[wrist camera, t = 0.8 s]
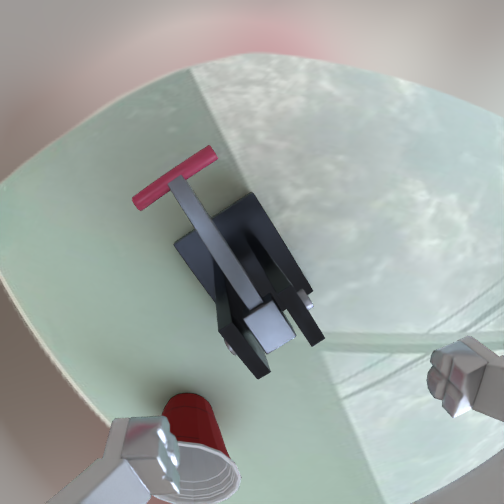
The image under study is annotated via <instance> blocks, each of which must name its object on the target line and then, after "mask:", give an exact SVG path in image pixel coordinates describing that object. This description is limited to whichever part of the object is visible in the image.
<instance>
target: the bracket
mask: <svg viewBox="0 0 504 504" xmlns="http://www.w3.org/2000/svg"><path fill="white" fill-rule="evenodd" d="M211 219H212V221H213V222H214V224H215V225H216V227H217V228H218V230H219V232H220V233H221V235H222V236H223V238H224V239H225V241H226V242H227V244H228V245H229V247H230V248H231V250H232V252H233V253H234V255H235V256H236V258H237V259H238V261H239V262H240V264H241V265H242V267H243V268H244V270H245V271H246V273H247V274H248V276H249V278H250V279H251V281H252V282H253V284H254V285H255V287H256V288H257V290H258V291H259V293H260V294H261V296H262V297H264V296H265V295H267V294H269V293H271V295H272V296H273V298H274V299H275V301H276V302H277V304H278V305H279V307H280V308H281V310H282V311H284V310H285V309H287V310H288V312H289V313H290V315H291V316H292V318H293V319H294V321H295V322H296V324H297V325H298V327H299V328H300V330H301V331H302V333H303V334H304V336H305V337H306V339H307V340H308V342H309V343H310V345H311V346H312V347H313V346H314V345H316V344H317V343H319V342H320V341H322V340H324V339H325V337H324V335H323V334H322V332H321V330H320V329H319V327H318V326H317V324H316V322H315V321H314V319H313V318H312V316H311V314H310V313H309V311H308V310H310V309H311V308H313V307H314V306H313V304H312V302H311V300H310V299H309V297H308V294H310V293H311V292H313V290H312V288H311V286H310V284H309V283H308V281H307V279H306V278H305V276H304V274H303V273H302V271H301V269H300V268H299V266H298V265H297V263H296V261H295V260H294V258H293V256H292V255H291V253H290V251H289V250H288V248H287V246H286V245H285V243H284V242H283V240H282V238H281V237H280V235H279V233H278V232H277V230H276V228H275V227H274V225H273V224H272V222H271V220H270V219H269V217H268V216H267V214H266V212H265V211H264V209H263V208H262V206H261V204H260V203H259V201H258V200H257V198H256V196H255V195H254V193H253V192H250V193H249V194H247V195H245V196H244V197H242V198H241V199H239V200H238V201H236V202H235V203H233V204H231V205H230V206H228V207H227V208H225V209H224V210H222V211H221V212H219V213H218V214H216V215H215V216H213V217H212V218H211ZM174 246H175V248H176V249H177V251H178V252H179V253H180V255H181V256H182V258H183V259H184V261H185V262H186V263H187V265H188V266H189V268H190V269H191V270H192V272H193V273H194V274H195V276H196V277H197V279H198V280H199V281H200V283H201V284H202V285H203V287H204V288H205V290H206V291H207V292H208V294H209V295H210V296H211V298H212V299H213V300H214V302H215V303H216V310H217V322H218V332H219V333H220V334H221V335H222V337H223V338H224V341H225V344H226V346H227V347H228V349H229V350H230V352H231V353H232V354H233V355H238V357H239V358H240V359H241V360H242V361H243V363H244V364H245V365H246V366H247V367H248V369H249V370H250V371H251V372H252V373H253V375H254V376H255V377H256V378H257V379H260V378H262V377H263V376H265V375H267V374H268V373H270V372H271V371H270V368H269V365H268V362H267V359H266V356H265V353H264V350H263V348H262V347H261V346H260V344H259V343H258V341H257V340H256V338H255V337H254V336H253V334H252V333H251V331H250V330H249V328H248V327H247V325H246V324H245V323H244V321H243V309H245V308H247V307H246V305H245V304H244V302H243V301H242V299H241V298H240V296H239V295H238V293H237V292H236V290H235V289H234V287H233V286H232V284H231V283H230V281H229V280H228V278H227V277H226V275H225V274H224V272H223V271H222V269H221V268H220V266H219V265H218V263H217V262H216V260H215V259H214V257H213V256H212V254H211V253H210V251H209V249H208V248H207V246H206V245H205V243H204V242H203V240H202V239H201V237H200V236H199V234H198V232H197V231H196V229H193V230H192V231H190V232H189V233H188V234H186V235H185V236H183V237H182V238H180V239H179V240H177V241H176V242H175V243H174Z"/></svg>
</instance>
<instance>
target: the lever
mask: <svg viewBox="0 0 504 504" xmlns="http://www.w3.org/2000/svg"><path fill="white" fill-rule="evenodd" d="M217 159H218V157H217V155H216V153H215V152H214V150H213V149H212V147H211V146H210V145H208V146H207V147H205V148H203V149H202V150H200V151H199V152H197V153H196V154H194V155H193V156H191V157H189V158H188V159H186V160H185V161H183V162H182V163H180V164H179V165H177V166H176V167H175V168H173V169H172V170H170V171H169V172H167V173H166V174H164V175H163V176H161V177H160V178H159V179H157V180H156V181H154V182H153V183H151V184H150V185H149V186H147V187H146V188H144V189H143V190H142V191H140V192H139V193H138V194H136V195H135V196H133V197H132V201H133V203H134V205H135V206H136V207H137V209H138V210H140V211H142V210H143V209H145V208H146V207H148V206H149V205H150V204H152V203H153V202H155V201H156V200H157V199H159V198H160V197H162V196H163V195H165V194H166V193H167V192H169V191H170V190H171V192H172V193H173V195H174V196H175V198H176V199H177V201H178V203H179V204H180V206H181V207H182V209H183V211H184V212H185V214H186V215H187V217H188V218H189V220H190V222H191V223H192V225H193V226H194V228H195V229H196V231H197V232H198V234H199V236H200V237H201V239H202V240H203V242H204V243H205V245H206V246H207V248H208V249H209V251H210V253H211V254H212V256H213V257H214V259H215V260H216V262H217V263H218V265H219V266H220V268H221V269H222V271H223V272H224V274H225V275H226V277H227V278H228V280H229V281H230V283H231V284H232V286H233V287H234V289H235V290H236V292H237V293H238V295H239V296H240V298H241V299H242V301H243V302H244V304H245V305H246V307H247V308H245V309H243V321H244V323H245V324H246V325H247V327H248V328H249V330H250V331H251V333H252V334H253V336H254V337H255V338H256V340H257V341H258V343H259V344H260V346H261V347H262V348H263V350H264V351H265V353H266V354H269V353H270V352H272V351H274V350H275V349H277V348H279V347H280V346H282V345H283V344H285V343H287V342H288V341H290V340H292V339H293V338H295V337H296V333H295V331H294V329H293V327H292V325H291V324H290V322H289V321H288V319H287V317H286V316H285V314H284V313H283V311H282V310H281V308H280V307H279V305H278V304H277V302H276V301H275V299H274V298H273V296H272V295H271V293H269V294H267V295H265V296H264V297H262V296H261V294H260V293H259V291H258V290H257V288H256V287H255V285H254V284H253V282H252V281H251V279H250V278H249V276H248V274H247V273H246V271H245V270H244V268H243V267H242V265H241V264H240V262H239V261H238V259H237V258H236V256H235V255H234V253H233V252H232V250H231V248H230V247H229V245H228V244H227V242H226V241H225V239H224V238H223V236H222V235H221V233H220V232H219V230H218V228H217V227H216V225H215V224H214V222H213V221H212V219H211V218H210V216H209V215H208V213H207V211H206V210H205V208H204V207H203V205H202V204H201V202H200V201H199V199H198V197H197V196H196V194H195V193H194V191H193V190H192V188H191V186H190V185H189V183H188V182H187V179H188V178H190V177H191V176H193V175H194V174H196V173H197V172H199V171H200V170H202V169H203V168H205V167H206V166H208V165H209V164H211V163H213V162H214V161H216V160H217Z"/></svg>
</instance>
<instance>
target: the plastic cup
mask: <svg viewBox="0 0 504 504" xmlns="http://www.w3.org/2000/svg"><path fill="white" fill-rule="evenodd" d="M162 416H165V417H167V420H168V422H169V424H170V433H172V434H174V435H175V437H176V440H177V443H178V446H179V452H180V465H179V466H178V467H177V468H176V469H177V471H178V473H179V475H180V494H167V495H153V496H155V497H156V498H158V499H161V500H164V501H167V502H169V503H172V504H216V503H218V502H221V501H223V500H226V499H228V498H229V497H231V496H232V495H233V494H234V493H235V492H236V491H237V490H238V489H239V485H240V482H241V478H242V477H241V475H240V473H239V470H238V468H237V466H236V464H235V462H234V461H232V460H231V458H230V457H229V454H228V452H227V450H226V447H225V444H224V441H223V438H222V435H221V432H220V429H219V426H218V424H217V421H216V419H215V416H214V413H213V410H212V408H211V405H210V404H209V402H208V401H207V400H206V399H204V398H203V397H201V396H199V395H197V394H191V393H183V394H177V395H176V396H174V397H172V398H171V399H170V400H169V402H168V403H167V405H166V406H165V408H164V411H163V413H162Z"/></svg>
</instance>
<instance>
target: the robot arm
mask: <svg viewBox="0 0 504 504" xmlns="http://www.w3.org/2000/svg"><path fill="white" fill-rule="evenodd" d="M430 362H431V364H432V365H433V366H432V367H431V369H430V370H429V372H428V375H427V385H428V389H429V391H430V393H431V394H432V396H433V397H434V398H436V399H439V400H442V407H443V408H444V409H445V410H446V411H447V412H448V413H449V414H450V415H451V416H452V418H454V417H456V416H458V415H460V414H462V413H464V412H465V411H467V410H469V409H471V408H472V409H473V410H475V411H478V412H480V413H483V414H485V415H488V416H490V417H493V418H495V419H498V420H500V421H503V422H504V356H503V355H502V356H500V357H499V356H498V355H496V354H495V353H494V352H492V351H491V350H490V349H488V348H487V347H486V346H484V345H483V344H482V343H480V342H479V341H478V340H476V339H475V338H473V337H472V336H466V337H464V338H462V339H459V340H457V341H456V342H453V343H451V344H449V345H446V346H444V347H442V348H439V349H437V350H434V351H433V353H432V355H431V359H430ZM179 465H180V452H179V446H178V443H177V440H176V437H175V435H174V434H172V433H170V424H169V422H168V420H167V417H165V416H150V417H131V418H115V419H114V420H113V421H112V424H111V428H110V431H109V435H108V439H107V442H106V446H105V450H104V454H103V457H102V458H101V459H100V458H98V459H97V460H95V461H94V462H93V463H92V464H91V465H90V466H88V467H87V468H86V469H85V470H84V471H83V472H82V473H80V474H79V475H78V476H77V477H76V478H75V479H73V480H72V481H71V482H70V483H69V484H68V485H66V486H65V487H64V488H63V489H62V490H60V491H59V492H58V493H57V494H56V495H54V496H53V497H52V498H51V499H50V500H48V501H47V502H46V504H146V503H147V502H148V501H149V499H150V498H151V496H150V495H167V494H180V475H179V473H178V471H177V469H176V468H177V467H178V466H179ZM411 504H504V448H503V449H502V450H501V451H499V452H498V453H497V454H495V455H494V456H492V457H491V458H489V459H488V460H486V461H485V462H484V463H482V464H480V465H479V466H477V467H476V468H474V469H473V470H471V471H470V472H468V473H466V474H465V475H463V476H461V477H460V478H458V479H456V480H455V481H453V482H451V483H449V484H448V485H446V486H444V487H442V488H440V489H439V490H437V491H435V492H433V493H431V494H429V495H427V496H425V497H423V498H421V499H419V500H417V501H415V502H413V503H411Z"/></svg>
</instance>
